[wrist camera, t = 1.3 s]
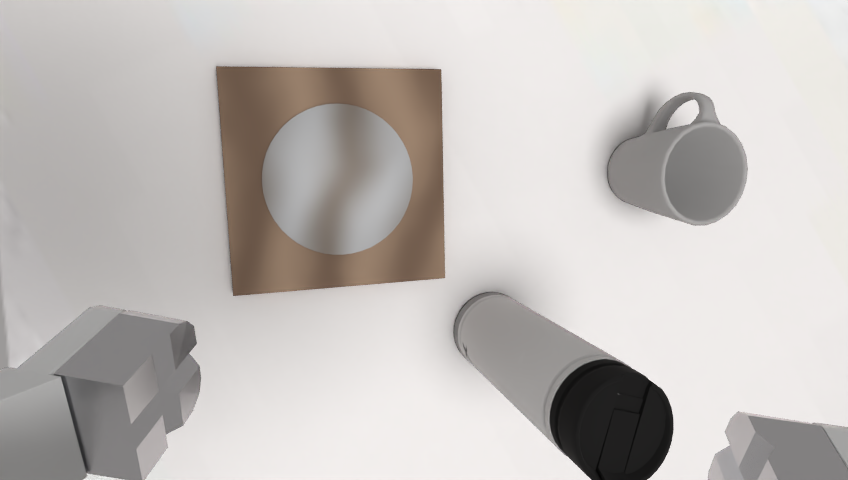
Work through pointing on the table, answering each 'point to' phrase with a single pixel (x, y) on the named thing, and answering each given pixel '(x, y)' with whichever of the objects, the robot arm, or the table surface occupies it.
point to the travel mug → (568, 388)
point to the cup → (682, 166)
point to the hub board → (332, 176)
